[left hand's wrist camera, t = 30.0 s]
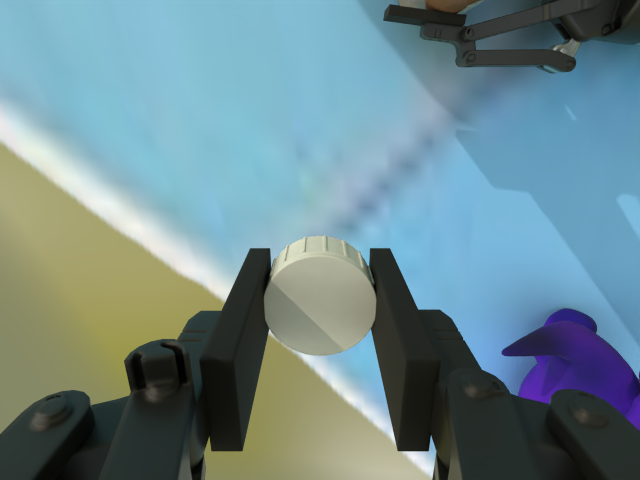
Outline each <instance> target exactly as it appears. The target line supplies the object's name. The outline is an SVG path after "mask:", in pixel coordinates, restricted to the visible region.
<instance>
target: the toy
mask: <svg viewBox="0 0 640 480" xmlns="http://www.w3.org/2000/svg"><path fill="white" fill-rule="evenodd" d="M596 332H597V325H596V323H595V321H594V320H593V319H592V318H591V317H589V316H588V315H586V314H584V313H582V312H579V311H576V310H573V309H562V310H559V311H557V312H555V313H554V314H552V315H551V316H550V317H549V318H548V319H547V321H546V323H545V325H544V326H543V327H541V328H539V329H537V330H536V331H534V332H532V333H530V334H528V335H526V336H525V337H523V338H521V339H519V340H517V341H516V342H514V343H513V344H511V345H510V346H508V347H506V348H505V349H503V351H502V355H504V356H535V358H536V360H537V362H538V364H537V365H535V366H534V367H533V368H532V370H531V371H530V372H529V373H528V374H527V376H526V377H525V379H524V380H523V383H522V385H521V387H520V391H519V394H518V396H519V397H522V398H526V399H531V400H535V401H539V402H544V403H548V404H549V402H550V399H551V396H552V395H553V394H554V393H555V392H556V391H557V390H562V389H576V390H581V391H584V392H588V393H591V394H594V395H596V396H597V397H599V398H601V399H603V400H605V401H607V402H608V403H610V404H611V405H612V406H613V407H615V408H616V409H617V410H618V411H620V412H621V413H622V414H623V415H624V416H625V417H626V418H627V419H628V420H629V421H630V422H631V423H632V424H633V425H634V426H635V427H636V428H637V429H638V430H639V431H640V380H639V379H640V372H639V379H638V378H637V377H636V375H635V373H634V372H633V370H632V369H631V367H630V366H629V364H628V363H627V362H626V361H625V360H624V359H623V357H622V356H621V355H620V354H619V353H618V352H617V351H616V350H615V349H614V348H613V347H612V346H611V345H610V344H609V343H608V342H606V341H605V340H604V339H602V338H601V337H600V336H598V335H597V334H596Z"/></svg>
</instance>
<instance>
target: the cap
mask: <svg viewBox="0 0 640 480" xmlns="http://www.w3.org/2000/svg"><path fill="white" fill-rule="evenodd" d="M374 284H375V283H374V280H373V276H372V273H371V270H370V266H367V264H366V262H365V260H364V258H363V257H362V255H361V252H360V251H357V250H356V249H355V248H354V247H352V246H351V245H349V244H348V243H346V242H345V240H343V241H342V240H339V239H336V238H333V237H327V236H326V235H324V236H313V237H307V238H306V237H304V239H301V240H298V241H296V242H294V243H292V244H291V245H287V246H286V248H285V249H284V250H283V251H282V252H281V253H280V254H279V256H278V257H277V258H276V259H274V261H273V265H272V268H271V272H270V275H269V279H268V283H267V286H266V290H265V293H264V310H265V321H266V323H267V325H268V327H269V329H270V330H271V332H272V333H273V334H274V336H275V337H276V338H277V339H278V340H279V341H280V342H282V343H283V344H284V345H286V346H287V347H289V348H291V349H293V350H295V351H298V352H301V353H304V354H309V355H319V356H322V355H331V354H336V353H340V352H342V351H345V350H347V349H349V348H351V347H353V346H354V345H356V344H357V343H359V342H360V341H361V340H362V339H363V338H364V337H365V336H366V335H367V333H368V332H369V330H370V329H371V327H372V325H373V323H374V321H375V314H376V293H375V289H374V286H373V285H374Z"/></svg>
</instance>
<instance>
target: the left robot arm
mask: <svg viewBox="0 0 640 480" xmlns="http://www.w3.org/2000/svg"><path fill="white" fill-rule="evenodd" d="M369 266H370V270H371V273H372V276H373V280H374V283H375V284H374V285H373V286H374V289H375V293H376V314H375V321H374V323H373V325H372V327H371V331H372V336H373V340H374V345H375V349H376V354H377V358H378V363H379V368H380V372H381V377H382V381H383V386H384V390H385V395H386V400H387V404H388V409H389V413H390V418H391V422H392V427H393V432H394V436H395V441H396V445H397V450H398V451H429V445H430V438H431V436H432V439H433V442H434V445H435V448H436V451H437V452H436V459H435V466H434V472H433V479H432V480H640V431H639V430H638V429H637V428H636V427H635V426H634V425H633V424H632V423H631V422H630V421H629V420H628V419H627V418H626V417H625V416H624V415H623V414H622V413H621V412H620V411H618V410H617V409H616V408H615V407H613V406H612V405H611V404H610V403H608V402H607V401H605V400H603V399H601V398H599V397H597V396H596V395H594V394H591V393H588V392H584V391H581V390H576V389H562V390H557V391H556V392H555V393H554V394H553V395H552V396H551V399H550V402H549V404H548V403H544V402H539V401H535V400H531V399H526V398H522V397H519V396H516V395H513V394H510V392H509V390H508V389H507V387H506V386H505V384H504V383H503V382H502V381H501V380H499V379H498V378H497V377H496V376H494V375H492V374H490V373H488V372H486V371H483V370H482V369H481V367H480V366H479V364H478V362H477V361H476V359H475V357H474V356H473V354H472V352H471V351H470V349H469V347H468V346H467V344H466V342H465V340H463V337H462V335H461V334H460V332H459V331H458V329H457V327H456V325H455V324H454V322H453V320H452V319H451V318H450V317H449V316H447V315H446V314H445V313H443V312H442V311H441V310H418V308H417V306H416V304H415V302H414V300H413V297H412V295H411V293H410V291H409V289H408V287H407V284H406V282H405V280H404V278H403V276H402V274H401V271H400V269H399V267H398V265H397V263H396V260H395V258H394V256H393V254H392V252H391V250H390V248H370V261H369ZM270 272H271V256H270V248H250V250H249V252H248V254H247V257H246V259H245V261H244V263H243V265H242V268H241V270H240V272H239V274H238V276H237V278H236V281H235V283H234V285H233V287H232V289H231V291H230V294H229V296H228V298H227V300H226V302H225V305H224V307H223V309H222V311H200V312H199V313H197V314H196V315H195V316H193V317H192V318H191V319H189V320H188V322H187V324H186V326H185V327H184V329H183V332H182V333H181V334H180V336H179V337H178V339H177V340H175V339H161V340H156V341H151V342H149V343H146V344H144V345H142V346H139V347H138V348H136V349H135V350H134V351H132V352H131V353H130V354H129V355H128V356H127V358H126V359H125V360H124V363H125V367H126V372H127V376H128V381H129V385H130V390H131V393H130V395H129V396H127V397H123V398H120V399H116V400H112V401H108V402H103V403H99V404H94V405H91V401H90V398H89V396H88V395H86V394H85V393H84V392H81V391H76V390H70V391H61V392H58V393H55V394H52V395H49V396H46V397H44V398H43V399H41V400H39V401H37V402H35V403H33V404H32V405H31V406H30V407H28V408H27V409H26V410H24V411H23V412H22V413H21V414H20V415H19V416H18V417H17V418H16V419H15V420H14V421H13V422H12V423H11V424H10V425H9V426H8V427H7V428H6V429H5V430H4V431H3V432H2V433H1V434H0V480H205V471H206V466H205V459H204V451H205V448H206V444H207V441H208V438H209V436H210V443H211V450H212V451H243V446H244V442H245V437H246V433H247V428H248V423H249V419H250V414H251V410H252V405H253V401H254V396H255V391H256V387H257V382H258V378H259V373H260V369H261V364H262V359H263V355H264V350H265V346H266V341H267V337H268V332H269V327H268V325H267V323H266V321H265V310H264V293H265V290H266V286H267V283H268V279H269V275H270Z"/></svg>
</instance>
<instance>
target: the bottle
mask: <svg viewBox="0 0 640 480" xmlns="http://www.w3.org/2000/svg"><path fill="white" fill-rule="evenodd" d="M398 1H399V5H400V6H405V7H413V8H420V9H427V10H434V11H442V12H449V13H456V14H463V13H465V12H467V11H468V10H470V9H472V8H474V7H475V6H477V5H479V4H481V3H482V2H484V1H486V0H398Z"/></svg>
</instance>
